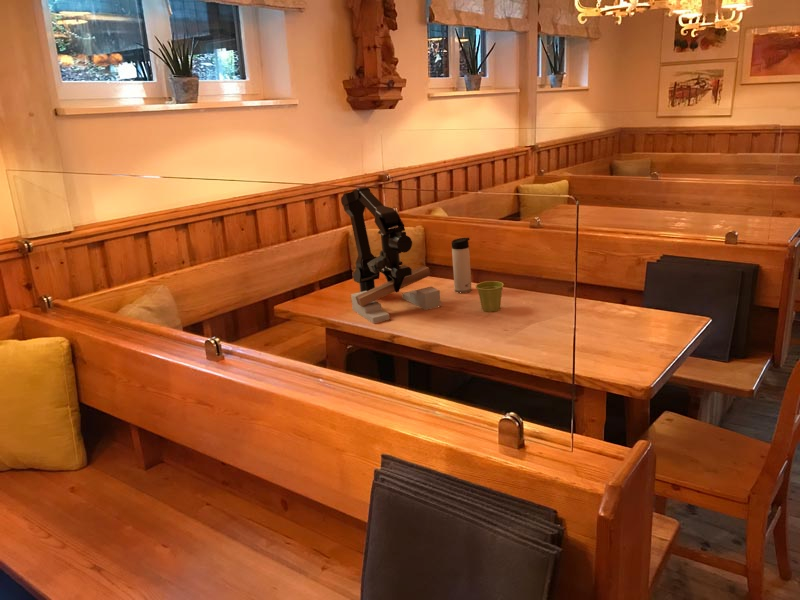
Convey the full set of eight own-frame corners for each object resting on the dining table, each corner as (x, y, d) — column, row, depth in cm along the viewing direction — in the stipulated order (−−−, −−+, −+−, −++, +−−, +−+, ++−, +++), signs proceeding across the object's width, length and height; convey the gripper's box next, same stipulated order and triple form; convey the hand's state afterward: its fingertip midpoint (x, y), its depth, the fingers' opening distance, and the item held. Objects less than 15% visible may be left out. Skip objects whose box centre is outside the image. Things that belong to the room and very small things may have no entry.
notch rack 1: (352, 310, 242) (350, 294, 240) (368, 306, 244) (366, 290, 242) (373, 323, 226) (371, 306, 224) (389, 319, 229) (387, 302, 227)
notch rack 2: (402, 298, 250) (401, 282, 248) (416, 294, 252) (415, 279, 250) (425, 310, 234) (424, 293, 232) (440, 306, 237) (439, 290, 235)
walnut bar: (357, 304, 234) (355, 296, 233) (426, 273, 243) (424, 265, 242) (361, 306, 231) (359, 298, 230) (430, 275, 240) (428, 267, 239)
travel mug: (471, 293, 248) (468, 240, 242) (453, 293, 249) (450, 240, 243) (473, 288, 254) (470, 236, 248) (455, 288, 255) (452, 236, 249)
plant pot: (471, 311, 229) (469, 286, 226) (487, 303, 236) (486, 279, 233) (494, 315, 223) (492, 290, 220) (510, 307, 229) (509, 283, 227)
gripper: (358, 247, 237) (362, 289, 242) (380, 257, 221) (385, 302, 226) (386, 241, 242) (390, 283, 247) (410, 250, 226) (414, 295, 231)
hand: (394, 290), depth 237 cm, fingers closed on walnut bar, 3 cm apart
